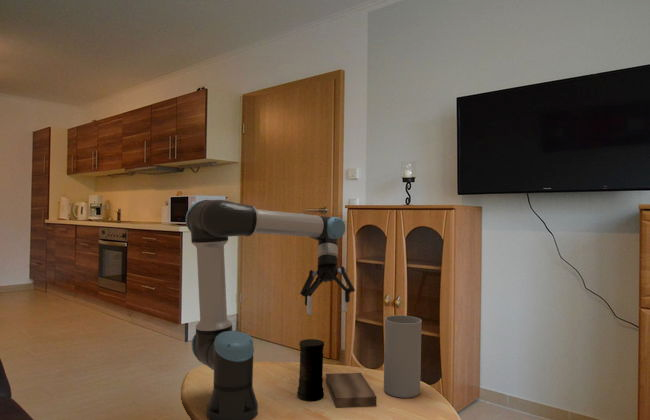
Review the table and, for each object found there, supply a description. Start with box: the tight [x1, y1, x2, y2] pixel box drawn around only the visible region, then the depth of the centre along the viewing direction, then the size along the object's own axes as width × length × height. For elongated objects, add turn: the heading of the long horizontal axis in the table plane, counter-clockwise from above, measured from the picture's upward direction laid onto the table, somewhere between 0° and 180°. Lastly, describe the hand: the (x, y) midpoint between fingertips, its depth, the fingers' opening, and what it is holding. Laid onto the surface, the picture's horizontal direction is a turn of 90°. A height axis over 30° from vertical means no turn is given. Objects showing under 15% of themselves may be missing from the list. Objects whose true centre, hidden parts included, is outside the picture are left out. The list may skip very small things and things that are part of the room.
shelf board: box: [325, 372, 377, 409], centre depth 155 cm, size 13×22×3 cm, turn 8°
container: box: [296, 338, 325, 402], centre depth 152 cm, size 9×9×18 cm
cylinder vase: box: [383, 314, 423, 399], centre depth 158 cm, size 12×12×25 cm
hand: (326, 313), depth 162 cm, fingers open, 13 cm apart
